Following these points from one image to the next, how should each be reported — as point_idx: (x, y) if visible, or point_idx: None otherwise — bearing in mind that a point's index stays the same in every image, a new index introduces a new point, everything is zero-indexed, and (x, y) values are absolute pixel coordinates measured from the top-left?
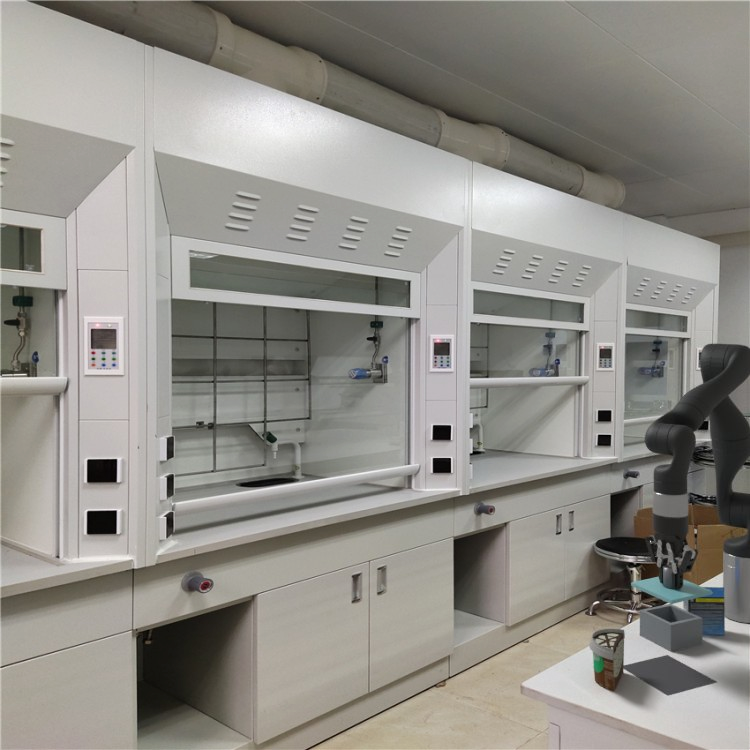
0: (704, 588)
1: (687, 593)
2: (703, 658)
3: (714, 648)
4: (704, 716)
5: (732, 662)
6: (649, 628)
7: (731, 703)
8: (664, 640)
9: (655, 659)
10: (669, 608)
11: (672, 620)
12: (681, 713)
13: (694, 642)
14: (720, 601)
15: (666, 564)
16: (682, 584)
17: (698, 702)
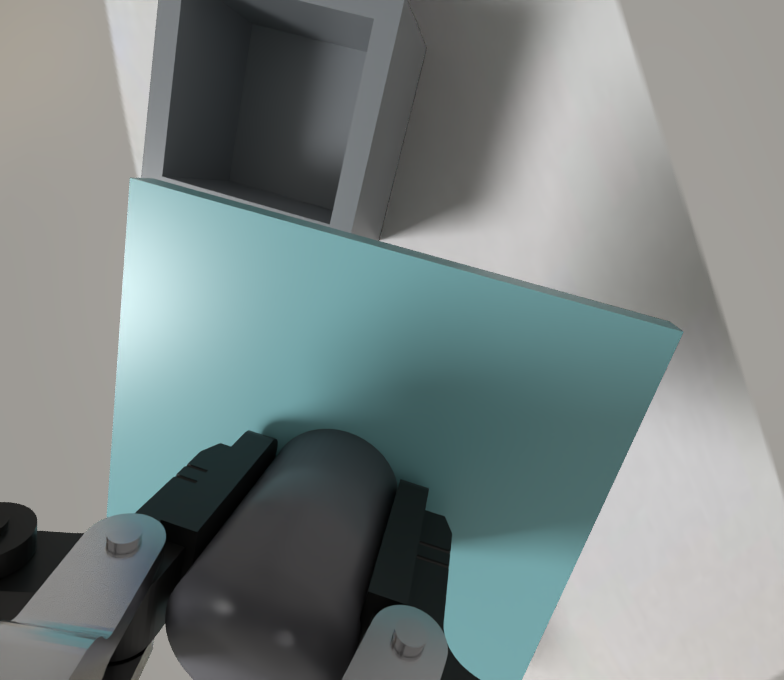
0: (587, 319)
1: (521, 546)
2: (487, 167)
3: (473, 16)
4: (678, 576)
5: (595, 98)
6: None
7: (720, 445)
8: None
9: None
10: None
11: (240, 7)
12: (615, 602)
13: (408, 94)
14: None
15: (159, 587)
16: (447, 543)
17: (627, 511)
